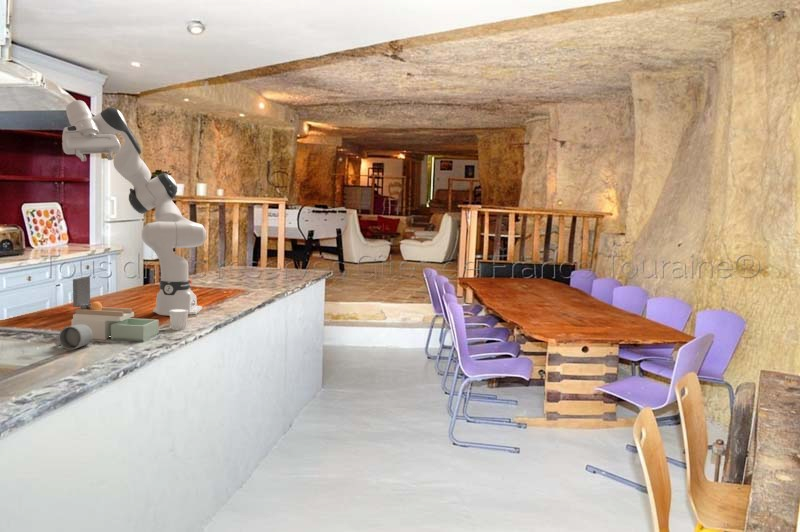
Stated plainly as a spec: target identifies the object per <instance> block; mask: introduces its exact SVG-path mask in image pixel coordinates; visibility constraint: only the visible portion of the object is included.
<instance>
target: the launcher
mask: <svg viewBox="0 0 800 532" xmlns="http://www.w3.org/2000/svg"><path fill="white" fill-rule="evenodd" d="M134 317H135V312H134V311H133V308H126V307H125V308H124V307H123V308H122V307H107V306H102V310H85V309H81V308H76V309H75V313H74V314H72V319H71V326H73V325H78V324H84V325H87V326H89V327H90V328H91V330H92V333H93V337H92V339H91V340H104V341H105V340H107V338H108V337H109V336H111V324H113V323H116V322H119V321H123V320H125V319H128V318H134ZM108 339H109V338H108Z"/></svg>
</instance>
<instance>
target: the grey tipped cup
mask: <svg viewBox="0 0 800 532" xmlns="http://www.w3.org/2000/svg"><path fill="white" fill-rule="evenodd" d="M92 337H93V333H92V330H91V328H90V327H89V326H87V325H84V324H78V325H73V326H72V325H68V326H66V327H63V329H61V331H60V332H59V335H58V340H56V341H55V342H54V343H55V346H56V347H62V348H64V349H66V350H69V351H73V350H77V349H78V348H81V347H83V346H86V345H88V344H90V343H91V341H92V340H93V339H92Z"/></svg>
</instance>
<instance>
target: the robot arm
mask: <svg viewBox="0 0 800 532" xmlns="http://www.w3.org/2000/svg"><path fill="white" fill-rule="evenodd" d="M65 112H66V116H67V119H68V122H69V126H66V127H64V128H63V130H62V137H61V138H62V139H61V141H62V151H63V153H65V154H66V155H75V156H76V157H78V158H79V159H80V160H81V162H87V156H86V155H89V154H90V155H91V154H94V155H95V154H107V155H106V156H107V157H106V158H107V161H112V162H113V166H114V167H113V168H114V169H115V170H116V171H117V173H118V174H119V175H121V176H122V177H123V178H124V179H125V180H127V181H128V182H129V183H130V184H131V185H132V186H133V188H132V187H131V188H129V194H128V201H129V205H130V207H131V208H132V209H133V210H134V211H136V212H137V213H139V214H142V215H143V214H146V213H148V212H150V210H152V209H155V210H154V218H155V221H153V222H148V223H146V224H145V225H144V226H143V228H142V231H141V238H142V240H143V243H144V244H145V246H147V247H149V248H150V249H151V250H152V251H153V252H154V254H155V255H156V256H157V258H158V261H159V266H160V280H159V289H160V290H159V291H158V292H157V293H156V299H155V300H156V301H155V308H154V309H152V312H153V313H156V315H160V316H169V317H170V313H169V311H170V310H173V309H186V310H188V315H197V314H198V313H199V312H200V311H201V310H202V309H203V306H202V305H198V303H197V302H198V301H197V298H198V297H197V295H196V294H195V293H194V291H192V289H191V285H192V283H193V280H192V279H189V262H188V260H187V259H186V258H185V257H183V256H180V255H178V254H177V253H175V252H174V249H179V248H180V249H181V248H182V249H184V248H185V249H186V248H187V249H192V248H196V247H202V246H203V245H204V244H205V242H206V240H207V237H208V236H207V231H206V228H205V227H204V225H203V224H202V223H198V222H195V221H192V220H190V219H188V218H186V217H184V216H183V215H182V212H181V210H180V209H179V207H178V206H177V204H175V203H174V201H173V199H176V198H177V195H176V194H177V193H178V184H177V181H176V180H175V179H174V178H173V176H171V174H170V175H169V174H168V173H167V172H163V173H160V174H157V176H156V177H153V178H152V172H151V170H150V169H149V167H148V166H147V164H146V163H145V162H144V160H143V159H142V158H141V157H140V155H141V153H142V149H141V147H140V144H139V142H138V141H137V139H136V136H135V135H134V134H133V132H132V130H131V128H130V127H129V125H128V123H127V121H126V119H125V116H124V115H123V113H122V112H121V111H120V110H119V109H117V108H115V107H109V106H108V107H106V108H105V109H104V110H103V109H102V111H101V112H100V113H98V114H95V115H94V116H93V114H92V113H93V112H91V110H90V108H89V106H88V105H87V103H86V102H85V101H83V100H80V99H77V100H73V101H71V102H69V103H68V104H67V105H66V108H65ZM116 134H121V136H122V138H123V140H124V141H125V142H124V144H123V145H122V144H121V143H120V141H119V139H118V137H117V135H116ZM121 145H122V146H121ZM113 154H114V157H113Z"/></svg>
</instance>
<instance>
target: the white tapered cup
mask: <svg viewBox="0 0 800 532" xmlns="http://www.w3.org/2000/svg"><path fill="white" fill-rule="evenodd" d="M169 313H170V316H169V319H170V320H169V321H170V329H171V330H174V331H183V330H186V329H187V326H188V310H186V309H173V310H170V311H169Z"/></svg>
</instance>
